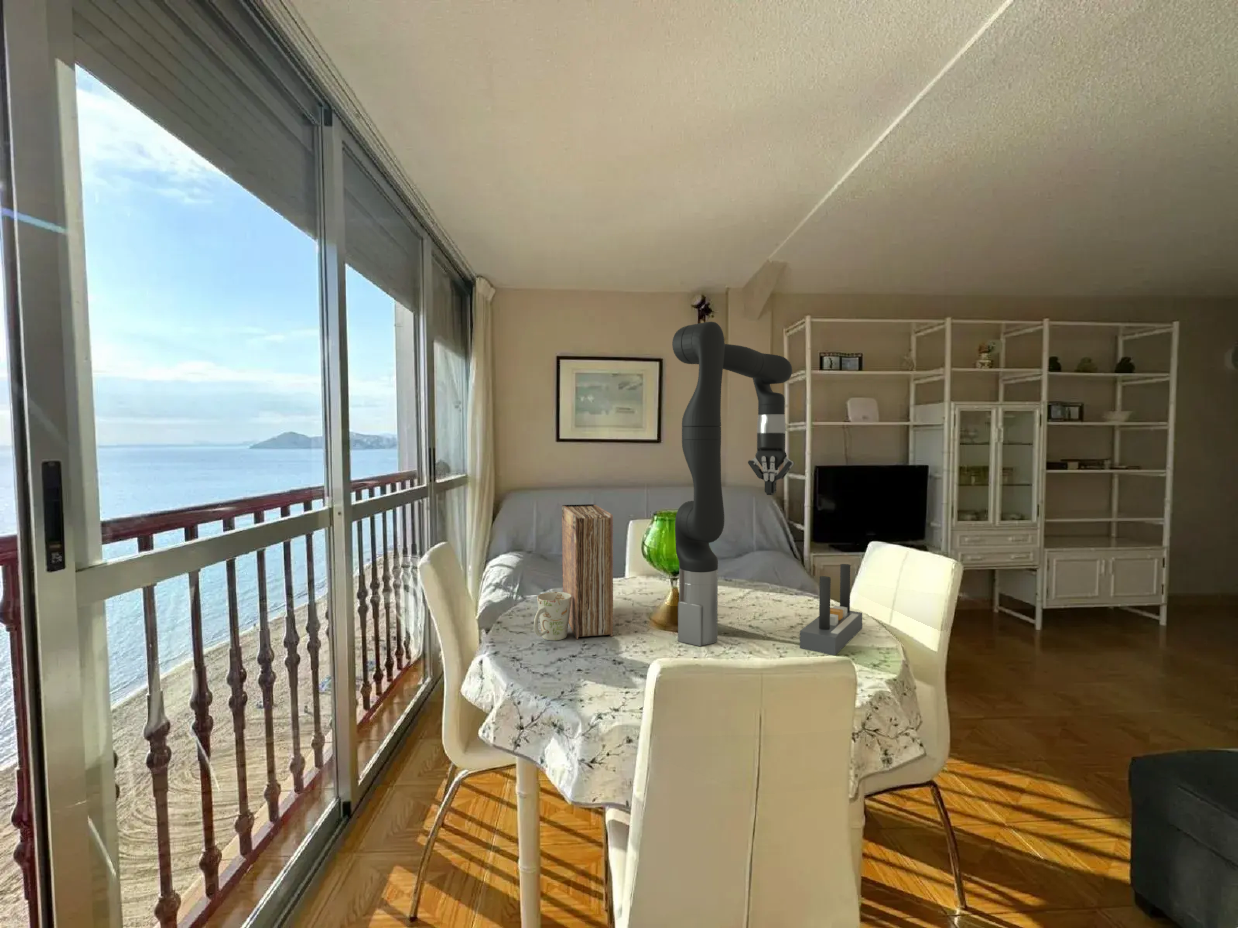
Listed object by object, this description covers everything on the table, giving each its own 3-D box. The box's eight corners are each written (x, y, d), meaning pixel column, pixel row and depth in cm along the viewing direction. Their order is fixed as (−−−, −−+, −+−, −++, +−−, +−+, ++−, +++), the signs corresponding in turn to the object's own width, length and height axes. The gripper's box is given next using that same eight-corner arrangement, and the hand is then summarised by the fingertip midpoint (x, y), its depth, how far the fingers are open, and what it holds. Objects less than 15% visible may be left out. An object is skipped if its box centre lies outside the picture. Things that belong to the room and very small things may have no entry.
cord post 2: (848, 613, 151) (848, 566, 151) (838, 611, 153) (839, 565, 152) (850, 610, 153) (851, 564, 153) (841, 609, 154) (841, 563, 154)
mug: (577, 633, 148) (577, 594, 147) (551, 650, 136) (550, 607, 136) (549, 629, 151) (548, 590, 151) (520, 644, 140) (520, 602, 139)
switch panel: (835, 655, 133) (835, 628, 132) (799, 648, 137) (799, 622, 137) (862, 628, 152) (862, 604, 151) (830, 622, 156) (830, 599, 156)
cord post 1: (828, 630, 137) (828, 579, 137) (817, 628, 139) (818, 577, 138) (831, 627, 139) (831, 577, 139) (820, 626, 141) (821, 575, 140)
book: (613, 637, 145) (613, 515, 144) (575, 640, 143) (575, 516, 142) (594, 608, 170) (594, 503, 168) (562, 610, 168) (561, 504, 166)
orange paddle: (839, 620, 144) (840, 612, 144) (827, 618, 146) (827, 610, 146) (842, 618, 146) (842, 610, 146) (830, 615, 148) (830, 607, 148)
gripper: (742, 431, 163) (742, 494, 164) (789, 431, 155) (789, 497, 156) (753, 431, 169) (753, 492, 170) (799, 431, 161) (798, 495, 162)
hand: (770, 494), depth 163 cm, fingers closed
